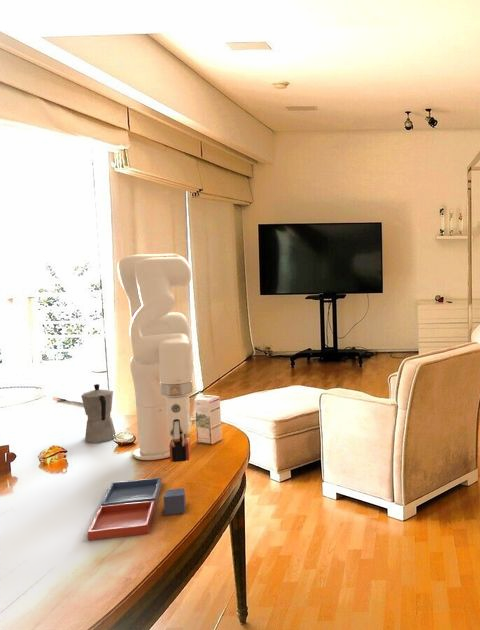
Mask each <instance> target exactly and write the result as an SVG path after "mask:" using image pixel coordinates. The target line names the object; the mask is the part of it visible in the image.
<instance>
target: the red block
mask: <svg viewBox="0 0 480 630" xmlns="http://www.w3.org/2000/svg"><path fill="white" fill-rule="evenodd" d="M184 445H186V461H187V462H188V461H190V458H191V442H190V437H186V438H184ZM169 447H170V457H169V461H170V463H174V462H173V457H172V439H171V441H170V445H169ZM186 461H185V462H186Z"/></svg>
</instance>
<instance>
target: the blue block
mask: <svg viewBox="0 0 480 630" xmlns="http://www.w3.org/2000/svg"><path fill="white" fill-rule="evenodd" d="M186 498H187V495H186V488H185V487H184V488H175V489H174V488H173V489H165V491H164V495H163V505H164V506H163V507H164V515H165V516H170V515H179V514H185V513H186V508H187V499H186Z"/></svg>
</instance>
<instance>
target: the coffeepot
mask: <svg viewBox="0 0 480 630" xmlns="http://www.w3.org/2000/svg"><path fill="white" fill-rule="evenodd" d="M93 387H94V390H89V391H86V392H83V393H82V394H81V396H80V397H81V400H82V404H83V408H84V412H85V415H86V416H87V420H86V427H85V434H84V435H85V437H84V441H85V442H87V443H92V444H93V443H94V444H95V443H98V444H99V443H104V442H109V441H111V440H113V439H116V435H117V434H116V430H115V426H114V422H113V418H112V417H111V412H112V409H113V408H112V406H113V395H114V391H113V390H110V389H100V384H99V383H95V384H93ZM115 434H116V435H115ZM113 435H114V436H115V437H114V436H113Z"/></svg>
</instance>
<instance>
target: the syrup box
mask: <svg viewBox="0 0 480 630" xmlns="http://www.w3.org/2000/svg"><path fill="white" fill-rule="evenodd" d="M194 412H195V413H194V414H195V418H196V422H195V429H196V431H195V432H196V442H197V443H198V444H204V445H205V444H207V445H214V444H215V443H218V442H219V441H222V440H223V432H222V417H221V415H222V414H221V398H220V396H219V395H209V394H203V395H200V396H198V397H196V398H194Z"/></svg>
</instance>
